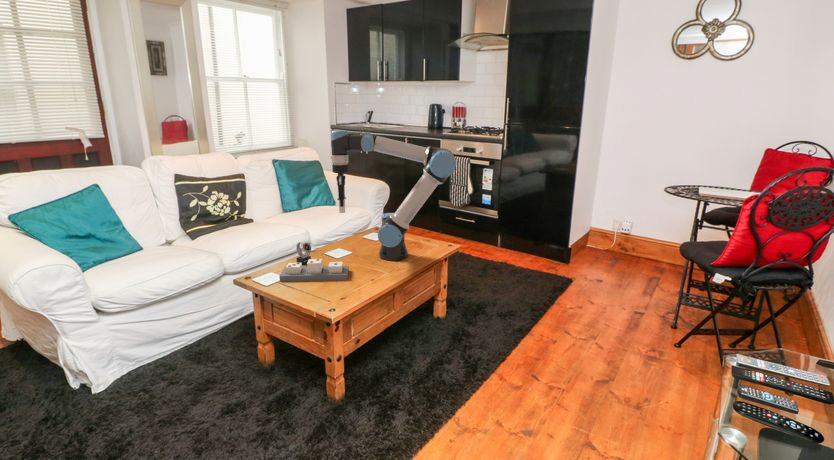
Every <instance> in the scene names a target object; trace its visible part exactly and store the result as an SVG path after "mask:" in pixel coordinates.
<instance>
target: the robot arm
mask: <svg viewBox="0 0 834 460" xmlns="http://www.w3.org/2000/svg"><path fill="white" fill-rule="evenodd" d="M330 137H331V138H330V142H331V143H330V144H331V147H330V148H331V156H330V159H332V160H331V161H332V162H331V163H332V173H335V174H337V175H336V178H335V179H336V182H337V183H336V186H337V193H338V195H337V196H338V198H336V199H337V201H338V203H339V204H338V206H339V207H338V208H339V209H338V211H339V214H346V200H347V197H346V194H345V191H346V189H345V188H346V187H345V185H346V175H344V173H349V171H350V169H349V152H365V153H367V152H372V151H373V152H377V153H380V154H384V155H385V154H386V155H389V156H394V157H398V158H402V159H407V160H410V161H414V162H417V163H422V164H423V165H424V167H423V170H422V172H423V174H422V175H421V176H420V178H419V179H418V181H417V182H416V184H415V185H414V186H413V187H412V189H411V190H410V192H409V193H408V194H407V196H406V197H405V198H404V200H403V201H402V202H401V204H400V205H399V206H398V208H397V209H396V211H395V212H385V213H383V214H382V215H381V225H380V227H379V228H378V230H377V239H378V241H379V243H380V244H381V246H380V248H379V252H378V257H379V258H380V259H381V260H386V261H401V259H402V260H404V258H405V259H407V258H408V257H407V256H409V255H408V254H409V251H408V249H407V245H406V241H405V234H406V233H407V232H408V230H410V223H411V221H413V219H414V217H415V216H416V215H417V214H418V212H419V211H420V210H421V208H422V207H423V206H424V204H425V203H426V201H427V200H428V199H429V197H430V196H431V195H432V194H433V192H434V190H435V189H436V188H437V187H438V186H439V185H443V184H444V183H445V182H446V180H447V179H448V178H449V176H451V175H453V173H454V172H455V170H456V168H457V167H456V166H457V161H456V157H455V154H454V153H453V152H452V151H451V150H449V149H448V148H443V147H437V146H436V147H435V146H427V147H425V146H420V145H416V144H413V143H410V142H409V143H408V142H405V141H400V140H397V139H391V138H388V137H384V136H379V135H375V134H371V133H369V132H361V134H348V131H347V130H345V129H344V130H343V129H342V130H341V129H338V130H337V129H336V130H332V131H331V133H330ZM406 257H407V258H406Z"/></svg>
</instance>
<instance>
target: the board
mask: <svg viewBox="0 0 834 460" xmlns="http://www.w3.org/2000/svg"><path fill="white" fill-rule="evenodd" d="M328 266H329V265H322V267H323V269H322V272H321V273H309V274H308V271H307V265H306V266H305V265H302V272H301V274H286V266H284V268H283V269H282V271H281V272H280V274H279V282H305V281H307V282H308V281H309V282H310V281H311V282H312V281H313V282H314V281H347V280H348V278H349V273H350V272H349V271H350V266H349V265H343V273H329V269H328Z"/></svg>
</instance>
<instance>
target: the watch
mask: <svg viewBox="0 0 834 460" xmlns="http://www.w3.org/2000/svg"><path fill="white" fill-rule="evenodd" d="M295 249H296V252H297V255H298V257H296V263H302V266H305V265H307V262H308V260H309V259H312V257H311V252H312V245H311V244H310V243H309V242H307V241H304V240H303V241H299V242H297V244H296V246H295ZM303 252H304V254H303Z"/></svg>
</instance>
